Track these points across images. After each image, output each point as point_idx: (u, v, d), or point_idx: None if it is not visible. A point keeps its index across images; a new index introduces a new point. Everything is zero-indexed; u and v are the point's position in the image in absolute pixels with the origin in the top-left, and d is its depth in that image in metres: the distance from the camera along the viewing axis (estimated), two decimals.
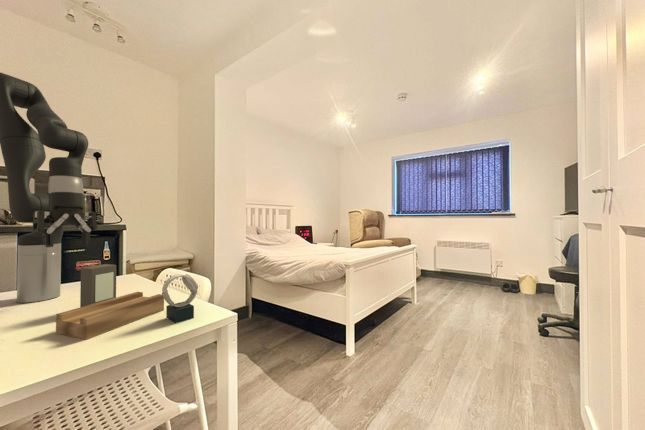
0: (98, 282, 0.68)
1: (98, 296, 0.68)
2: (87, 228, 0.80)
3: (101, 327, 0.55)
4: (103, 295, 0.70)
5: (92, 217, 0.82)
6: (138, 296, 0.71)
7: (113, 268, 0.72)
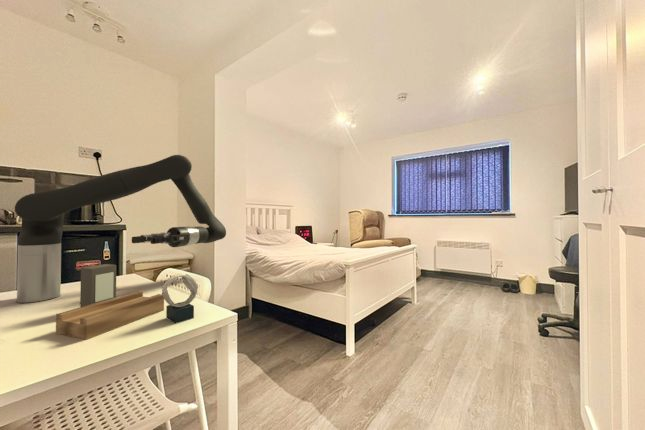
0: (98, 282, 0.68)
1: (98, 296, 0.68)
2: None
3: (101, 327, 0.55)
4: (103, 295, 0.70)
5: None
6: (138, 296, 0.71)
7: (113, 268, 0.72)
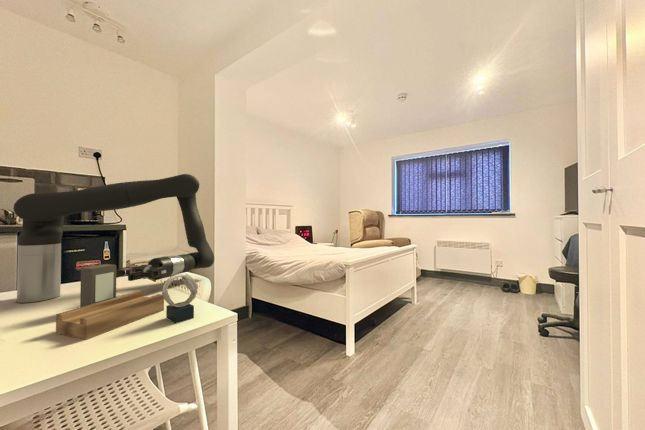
0: (98, 282, 0.68)
1: (98, 296, 0.68)
2: None
3: (101, 327, 0.55)
4: (103, 295, 0.70)
5: (133, 273, 0.85)
6: (138, 296, 0.71)
7: (113, 268, 0.72)
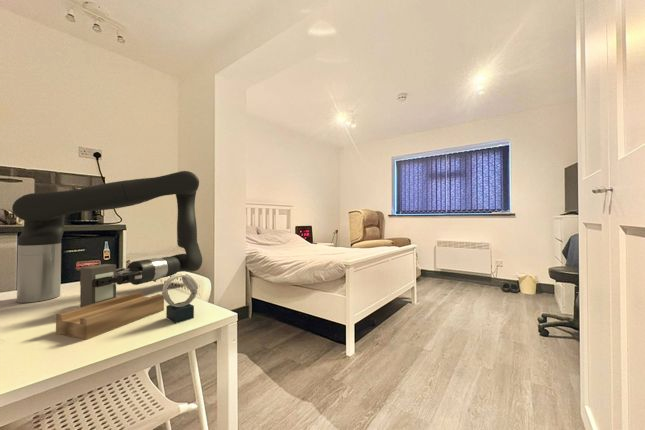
0: None
1: (98, 295, 0.68)
2: None
3: (101, 327, 0.55)
4: (103, 295, 0.70)
5: None
6: (138, 296, 0.71)
7: (113, 268, 0.72)
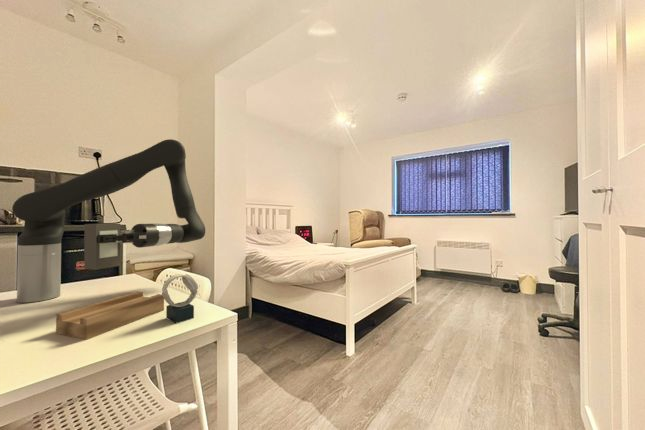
0: None
1: (103, 252, 0.68)
2: None
3: (101, 327, 0.55)
4: (107, 252, 0.69)
5: None
6: (138, 296, 0.71)
7: (117, 226, 0.71)
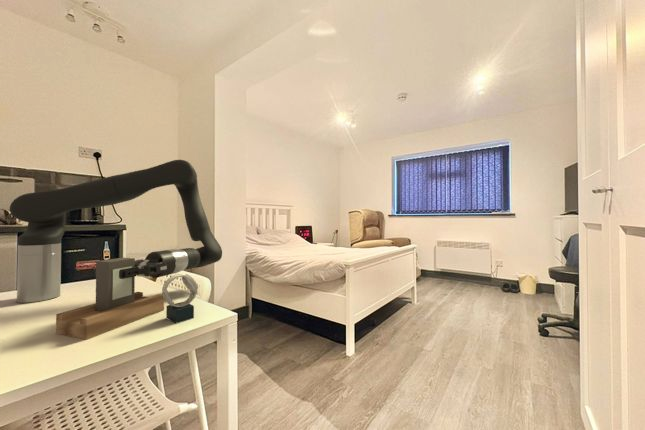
0: (115, 277, 0.61)
1: (116, 292, 0.61)
2: None
3: (101, 327, 0.55)
4: (121, 292, 0.62)
5: None
6: (138, 296, 0.71)
7: (131, 262, 0.64)
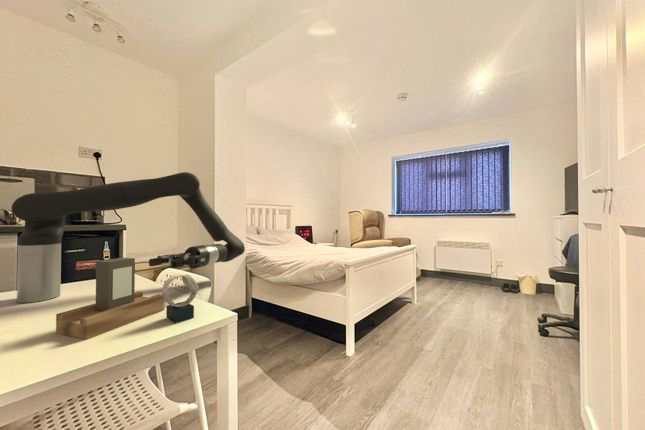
0: (115, 277, 0.61)
1: (116, 292, 0.61)
2: None
3: (101, 327, 0.55)
4: (121, 292, 0.62)
5: (170, 261, 0.84)
6: (138, 296, 0.71)
7: (131, 262, 0.64)
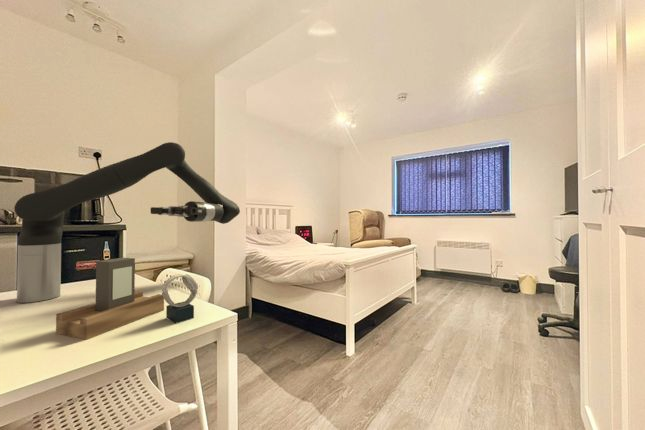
0: (115, 277, 0.61)
1: (116, 292, 0.61)
2: (164, 214, 0.87)
3: (101, 327, 0.55)
4: (121, 292, 0.62)
5: None
6: (138, 296, 0.71)
7: (131, 262, 0.64)
